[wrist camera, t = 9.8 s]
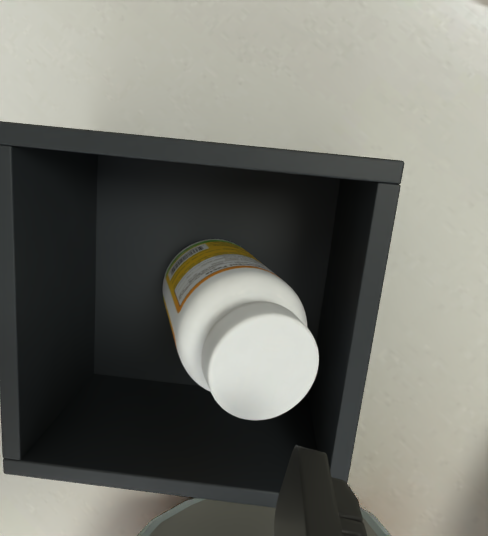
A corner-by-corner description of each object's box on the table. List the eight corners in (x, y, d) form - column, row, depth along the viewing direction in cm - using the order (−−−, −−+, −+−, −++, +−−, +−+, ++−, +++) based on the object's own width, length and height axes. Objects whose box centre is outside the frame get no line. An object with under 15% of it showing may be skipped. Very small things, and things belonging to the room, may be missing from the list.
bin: (88, 136, 24) (-12, 120, 15) (356, 162, 23) (405, 161, 15) (85, 378, 27) (2, 474, 19) (318, 406, 26) (341, 517, 18)
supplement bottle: (248, 335, 25) (320, 440, 16) (154, 327, 23) (174, 439, 14) (267, 244, 24) (355, 302, 15) (169, 229, 22) (201, 284, 13)
